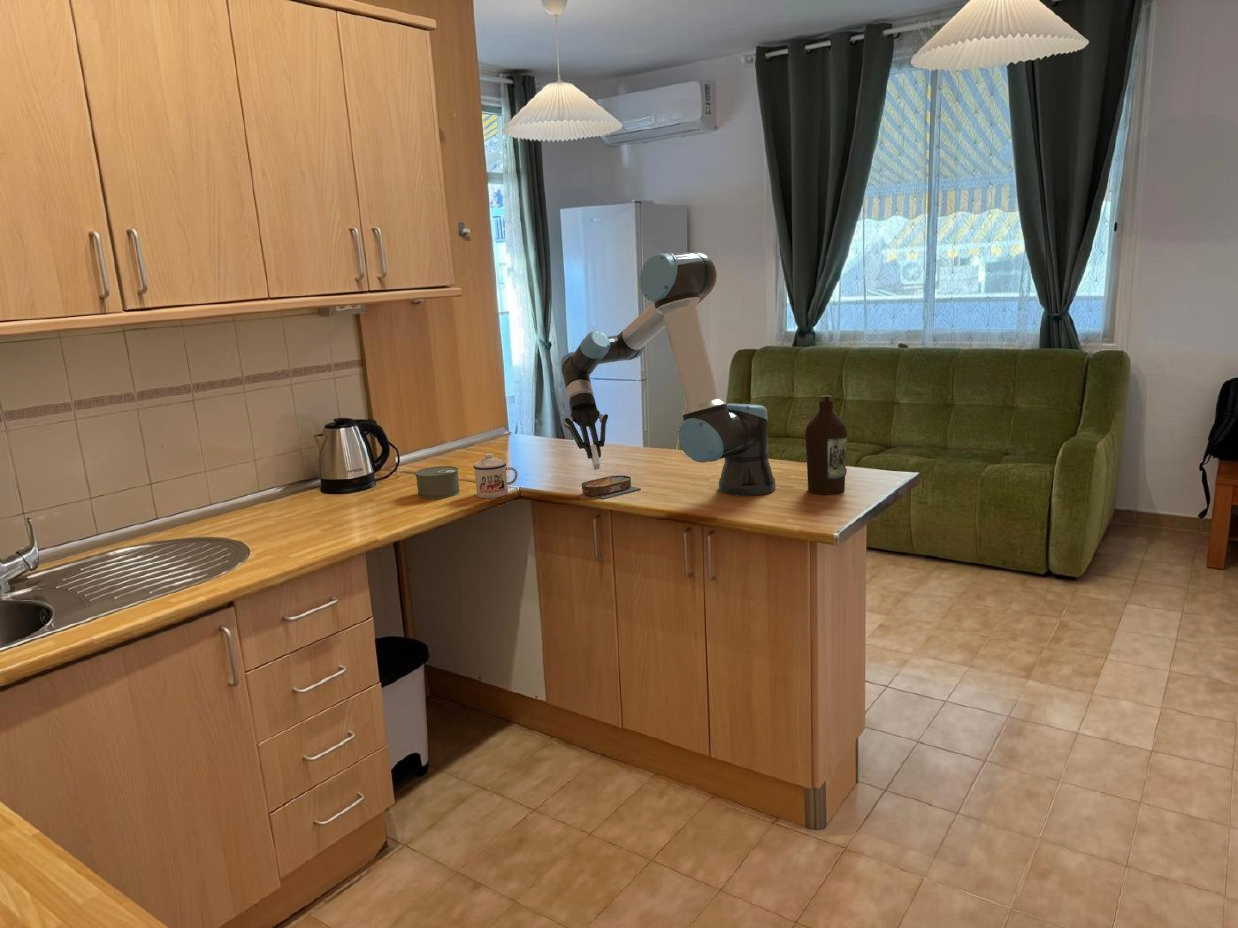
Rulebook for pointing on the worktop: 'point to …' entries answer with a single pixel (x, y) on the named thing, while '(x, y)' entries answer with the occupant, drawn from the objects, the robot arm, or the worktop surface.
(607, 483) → the tin
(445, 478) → the can
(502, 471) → the teacup with lid
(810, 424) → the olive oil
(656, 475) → the worktop surface
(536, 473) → the worktop surface
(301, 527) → the worktop surface
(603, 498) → the mat
